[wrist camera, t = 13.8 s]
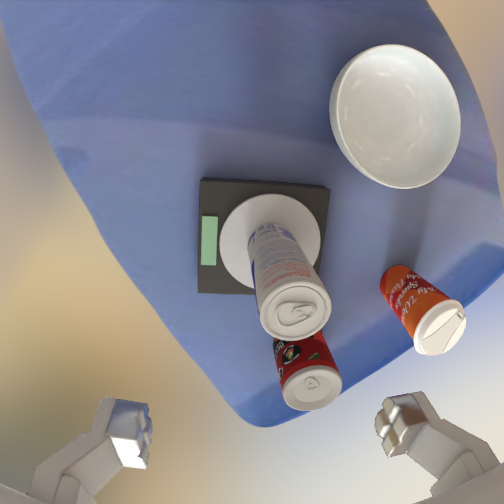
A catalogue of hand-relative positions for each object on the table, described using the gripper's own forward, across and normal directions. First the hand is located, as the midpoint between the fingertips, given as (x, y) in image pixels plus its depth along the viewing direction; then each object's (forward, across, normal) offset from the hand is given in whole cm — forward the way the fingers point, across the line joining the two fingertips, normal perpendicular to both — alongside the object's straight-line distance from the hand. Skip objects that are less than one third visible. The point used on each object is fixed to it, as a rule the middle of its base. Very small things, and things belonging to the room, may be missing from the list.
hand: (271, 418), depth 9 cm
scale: (+31, -3, +4) cm, 31 cm away
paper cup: (+31, -24, +10) cm, 41 cm away
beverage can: (+28, -4, +4) cm, 29 cm away
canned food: (+31, -10, +20) cm, 38 cm away
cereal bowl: (+31, -17, -13) cm, 38 cm away
